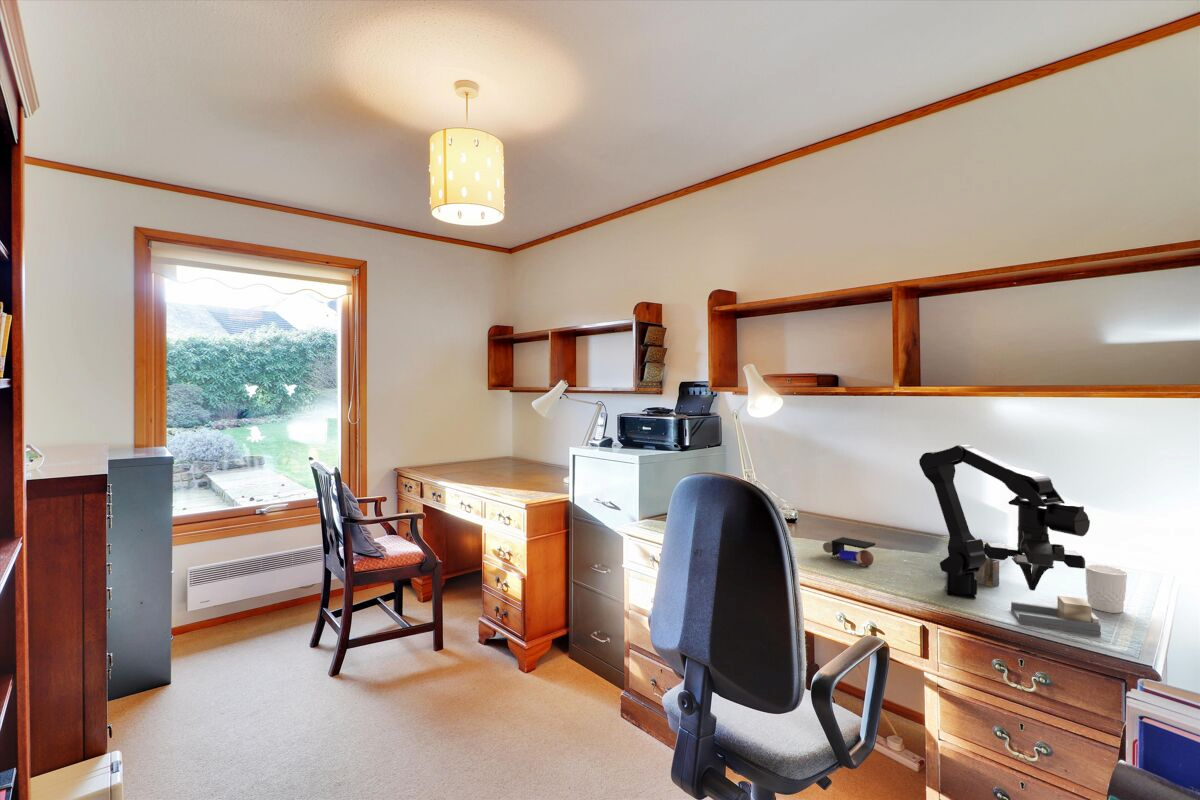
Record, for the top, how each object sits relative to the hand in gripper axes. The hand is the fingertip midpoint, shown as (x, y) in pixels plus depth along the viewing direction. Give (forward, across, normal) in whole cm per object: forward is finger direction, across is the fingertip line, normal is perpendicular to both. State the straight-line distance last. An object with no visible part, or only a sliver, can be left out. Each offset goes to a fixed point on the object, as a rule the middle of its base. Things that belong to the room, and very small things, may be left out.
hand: (1031, 589), depth 135 cm
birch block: (+6, +8, 0) cm, 10 cm away
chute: (+7, +4, 0) cm, 8 cm away
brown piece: (+8, -7, +26) cm, 28 cm away
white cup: (+8, +19, +16) cm, 26 cm away
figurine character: (+7, -41, +30) cm, 52 cm away
